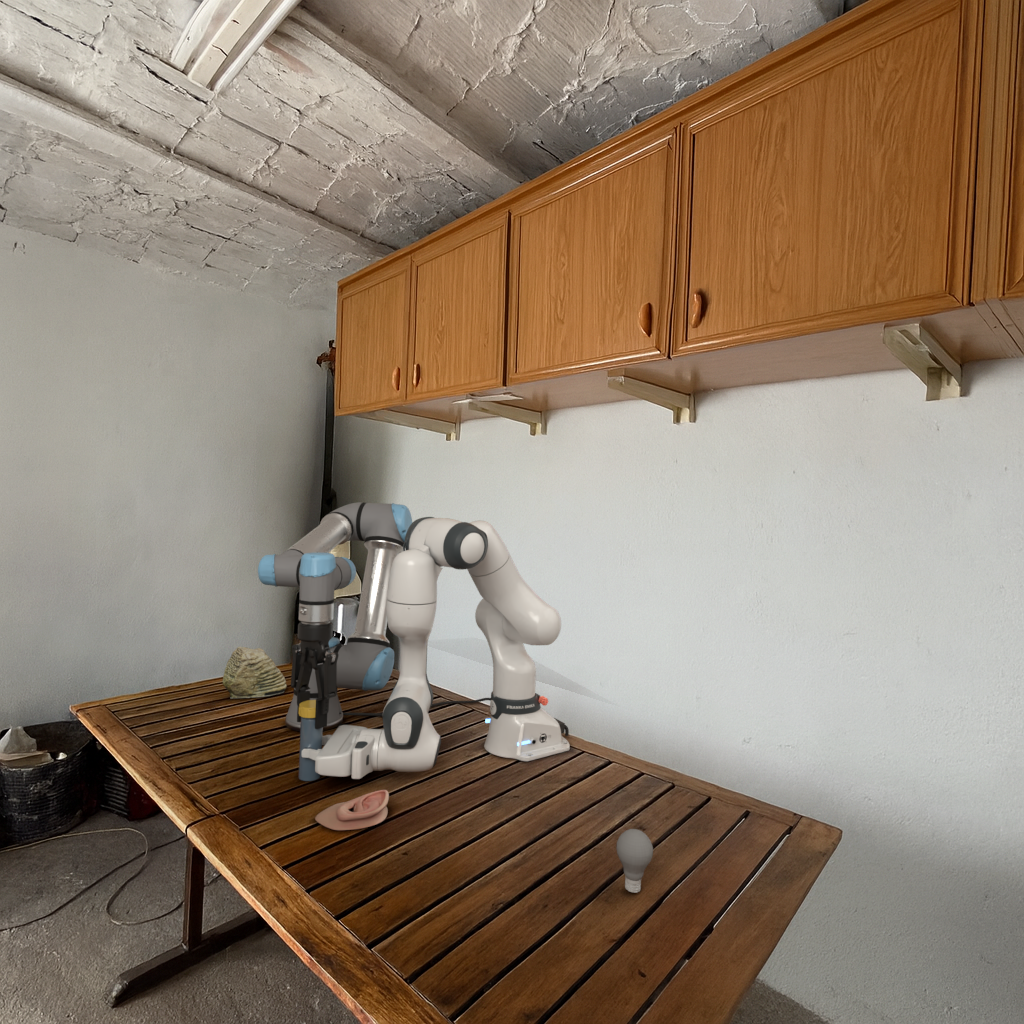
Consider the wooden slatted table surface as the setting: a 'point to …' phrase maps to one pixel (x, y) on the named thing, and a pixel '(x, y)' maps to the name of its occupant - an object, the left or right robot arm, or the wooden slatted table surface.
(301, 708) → the lid
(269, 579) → the left robot arm
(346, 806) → the anatomical model
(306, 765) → the blue-grey cylinder
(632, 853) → the light bulb
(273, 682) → the fossil
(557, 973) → the wooden slatted table surface
